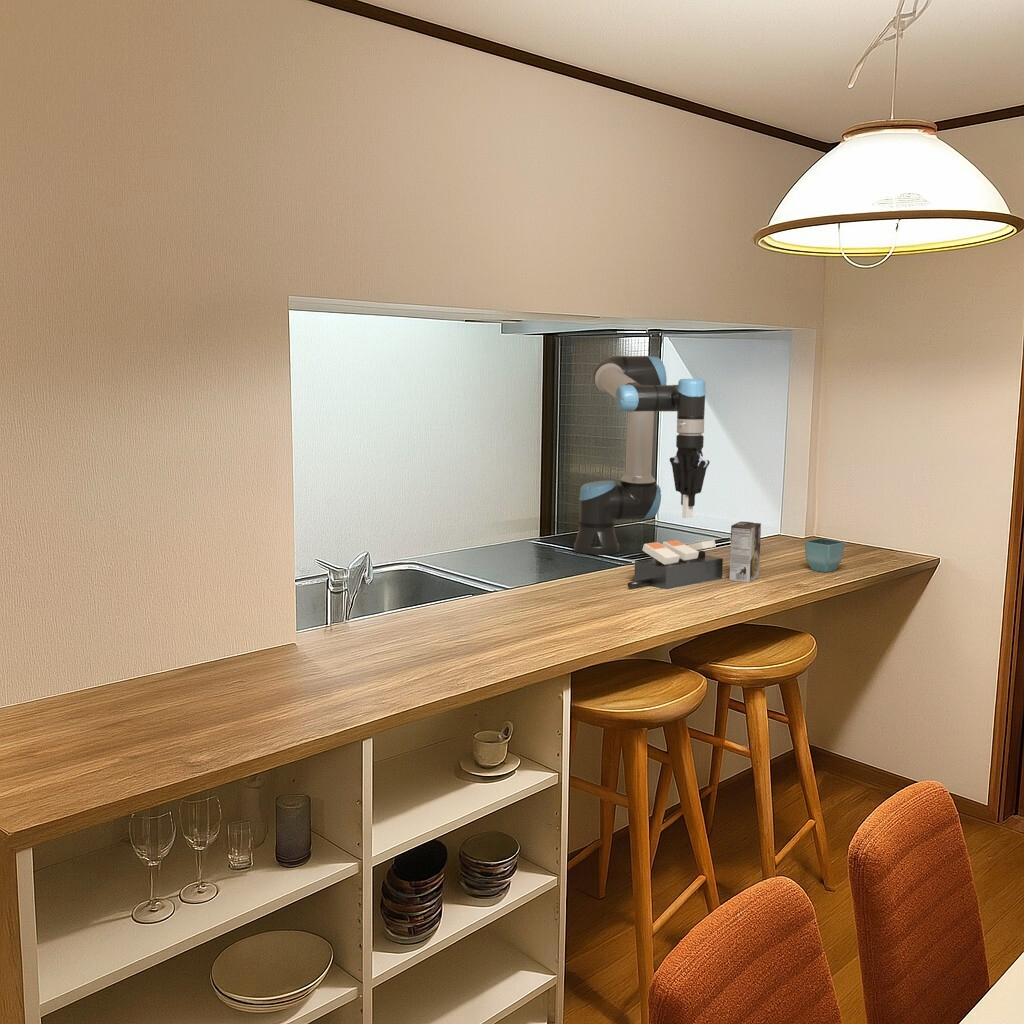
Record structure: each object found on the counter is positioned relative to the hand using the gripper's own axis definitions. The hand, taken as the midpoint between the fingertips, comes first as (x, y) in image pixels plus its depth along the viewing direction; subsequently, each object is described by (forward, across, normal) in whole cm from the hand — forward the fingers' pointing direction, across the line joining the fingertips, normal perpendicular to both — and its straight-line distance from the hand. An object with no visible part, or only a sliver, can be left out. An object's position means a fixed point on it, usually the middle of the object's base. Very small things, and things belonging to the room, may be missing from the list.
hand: (687, 517), depth 277 cm
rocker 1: (+11, -2, -9) cm, 14 cm away
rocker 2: (+11, -2, -1) cm, 11 cm away
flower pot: (+19, +15, +45) cm, 51 cm away
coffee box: (+19, +8, +16) cm, 26 cm away
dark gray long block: (+18, -2, -5) cm, 19 cm away
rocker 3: (+11, -2, +7) cm, 13 cm away
